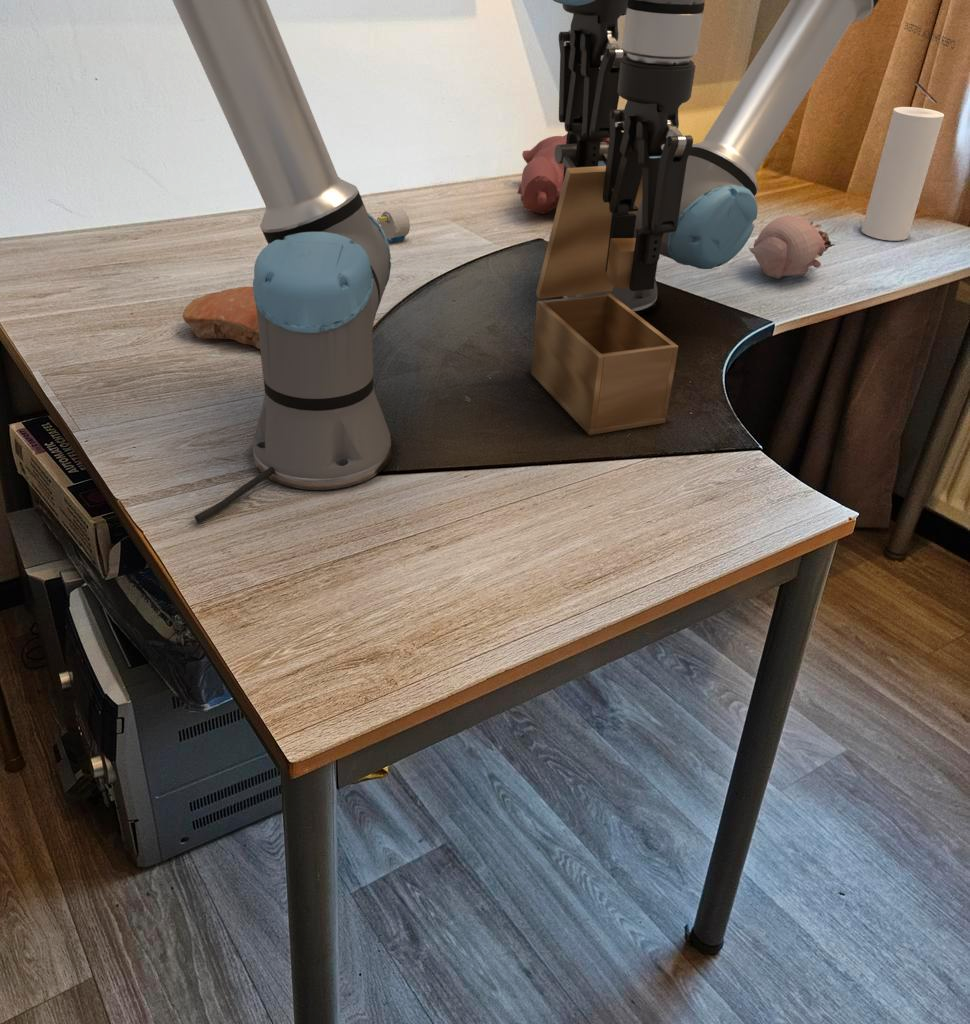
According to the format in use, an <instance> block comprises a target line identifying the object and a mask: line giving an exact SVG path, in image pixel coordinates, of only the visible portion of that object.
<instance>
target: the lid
mask: <svg viewBox="0 0 970 1024" xmlns="http://www.w3.org/2000/svg"><path fill="white" fill-rule="evenodd" d="M576 149H577V144H558V145H557V146H556V147H555V151H554V156H555V160H556V162H557V163H558V164H561V163H563V164H564V165H565V167H566V168H567V169H566V173H565V177H564V182H563V186H562V190H561V194H560V198H559V202H558V206H557V209H556V210H555V213H554V218H553V222H552V227H551V230H550V235H549V238H548V242H547V247H546V250H545V254H544V259H543V262H542V266H541V271H540V275H539V278H538V282H537V287H536V291H535V295H536V298H537V299H538V300H542V299H543V300H544V299H552V298H553V299H554V298H559V297H562V296H571V295H581V294H590V293H599V292H609V291H612V290H613V287H614V285H613V284H612V282H611V281H610V279H609V278H608V276H607V275H606V274H607V272H606V262H607V254H608V245H609V237H610V227H611V219H612V213H611V212H610V210H609V205H610V204H609V203H608V202H604V201H603V188H604V180H605V171H606V166H595V167H579V168H576V167H575V165H574V164H573V163H575V159H576ZM607 155H608V144H607V143H606V142H601V143H600V152H599V161H603V162H604V163H605V165H606V163H607ZM612 191H613V189H612ZM641 200H642V178H641V181H640V185H639V189H638V192H637V196H636V199H635V204H636V206H637V207H638V208H639V207H640V204H641ZM638 210H639V209H638ZM631 213H634V214H635V215H636V216H637V213H638V211H630V212H628V214H631Z"/></svg>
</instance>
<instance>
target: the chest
mask: <svg viewBox="0 0 970 1024" xmlns="http://www.w3.org/2000/svg"><path fill="white" fill-rule="evenodd" d="M532 345H533V346H532V357H531V358H532V359H531V370H530V374H531V376H532V377H533V378H534V379H535V380H536V381H537V382H538V383H539V384H540V385H541V386H542V387H543V388H544V389H545V390H546V391H547V392H548V394H550V396H551V397H552V398H553V399H554V400H555V401H556V402H557V403H558V404H559V405H560V406H561V408H563V409H564V410H565V411H566V412H567V414H568V415H569V416H570V417H571V418H572V419H573V420H574V421H575V422H576V423H577V425H579V426H580V427H581V429H583V430H584V431H585V433H587V435H588V436H593V435H600V434H606V433H610V432H618V431H624V430H629V429H630V430H631V429H637V428H642V427H643V428H644V427H648V426H655V425H656V426H657V425H660V424H661V425H662V424H665V423H667V422H666V421H667V417H668V411H669V405H670V398H671V393H672V392H671V391H672V388H673V381H674V375H675V370H676V364H677V359H678V352H679V351H678V350H679V345H677V344H676V343H675V342H674V341H672V340H671V339H670V338H669V337H667V336H666V335H664V334H663V333H662V332H661V331H659V329H657V328H656V327H655V326H653V325H652V324H650V323H649V322H648V321H646V320H645V319H644V318H643V317H641V315H637V314H636V313H635V312H634V311H632V310H631V309H630V308H628V307H627V306H626V305H625V304H623V303H622V302H621V301H619V300H618V299H617V298H616V297H614V296H613V295H612V294H610V293H607V294H599V295H589V296H580V297H571V298H562V299H560V298H555V299H554V298H553V299H545V300H544V299H543V300H537V301H536V308H535V322H534V333H533V344H532Z"/></svg>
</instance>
